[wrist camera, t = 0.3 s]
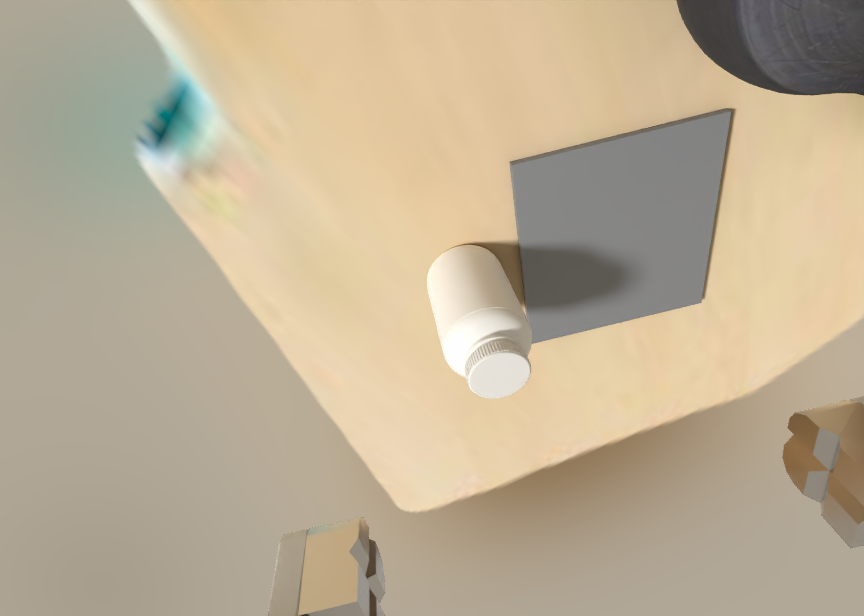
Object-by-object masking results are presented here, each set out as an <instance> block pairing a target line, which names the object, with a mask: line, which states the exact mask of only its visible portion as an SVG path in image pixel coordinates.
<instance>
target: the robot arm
mask: <svg viewBox="0 0 864 616" xmlns="http://www.w3.org/2000/svg"><path fill="white" fill-rule="evenodd" d="M788 429H789V430H790V431H791V432H792V433H793V434H794V435H793V436H792V437H791V438H790V439H789V440H788V441H787V442H786V443H785V444H784V450H783V457H782V458H783V461H784V464H785V468H786V471H787V473H788V475H789V477H790V478H791V480H792V482H793V483H794V484H795V486H796V487H797V488H798V489H799V490H800V491H801V493H802V494H803V495H805V496H807V497H809V498H811V499H814V500H816V501H818V502H820V503H821V516H823V518H824V519H825V520H826V521H827V522H828V523H829V525H830V526H831V527H832V528H833V529H834V530H835V531H836V533H837V534H838V535H839V536H840V537H841V538H842V539H843V540H844V541H845V543H846V544H847V545H848V546H849V547H850V548H854V547H859V546H864V396H863V397H859V398H855V399H851V400H844V401H839V402H836V403H832V404H828V405H824V406H820V407H816V408H812V409H808V410H804V411H800V412H796V413H794V414H793V416H791V417H790V419H789V423H788ZM384 594H385V579H384V571H383V564H382V559H381V556H380V552H379V549H378V547H377V545H376V543H375V541H373V540H370V539H369V527H368V525H367V523H366V521H365V520H364V517H361V518H357V519H352V520H348V521H342V522H337V523H333V524H328V525H323V526H318V527H314V528H309V529H304V530H300V531H296V532H291V533H287V534H284V535H283V537H282V539H281V541H280V543H279V549H278V555H277V561H276V567H275V574H274V580H273V586H272V592H271V599H270V604H269V611H268V616H385V614H384V612H383V610H382V608H381V606H380V604H379V603H380V601H381V599H382V598H383V596H384Z"/></svg>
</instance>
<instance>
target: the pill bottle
mask: <svg viewBox="0 0 864 616" xmlns="http://www.w3.org/2000/svg"><path fill="white" fill-rule="evenodd" d="M427 289H428V293H429V297H430V301H431V305H432V309H433V314H434V318H435V322H436V326H437V330H438V334H439V338H440V342H441V346H442V350H443V354H444V357H445V359H446V361H447V363H448V364H449V365H450V367H451V368H452V369H453V370H454V371H455V372H456V373H458V374H459V375H461V376H463V377H465V378H466V379H467V382H468V385H469V387H470V389H471V390H472V391H473V392H474V393H475V394H477V395H479V396H481V397H484V398H502V397H506V396H508V395H511V394H513V393H515V392H516V391H518V390H519V389H521V388H522V387H523V386H524V385H525V383H526V382H527V380H528V379H529V376H530V373H531V365H530V362H529V359H528V357H527V356H528V354H529V351H530V349H531V344H532V331H531V327H530V324H529V322H528V320H527V318H526V316H525V314H524V312H523V309H522V307H521V305H520V303H519V301H518V299H517V297H516V295H515V293H514V291H513V289H512V286H511V284H510V282H509V280H508V278H507V276H506V274H505V272H504V270H503V268H502V265H501V264H500V262H499V260H498V259H497V258H496V256H495V255H494V254H493V253H491V252H490V251H489V250H487V249H485V248H483V247H480V246H476V245H461V246H457V247H454V248H451V249H449V250H447V251H445V252H444V253H442V254H441V255H440V256H439V257H438V258H437V259H436V260H435V261H434V263H433V264H432V266H431V267H430V270H429V272H428V277H427Z"/></svg>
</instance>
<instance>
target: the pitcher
mask: <svg viewBox="0 0 864 616" xmlns="http://www.w3.org/2000/svg"><path fill="white" fill-rule="evenodd" d="M677 4H678V8H679V12H680V14H681V16H682V19H683V21H684V24H685V25H686V27H687V29H688V30H689V32H690V34H691V36H692V37H693V39H694V41H695V42H696V43H697V44H698V46H699V47H700V48H701V49H702V51H703V52H704V53H705V54H706V55H707V56H708V57H709V58H710V59H712V60H713V61H714V62H715V63H716V64H717V65H719V66H720V67H722V68H723V69H724V70H726V71H727V72H729V73H730V74H732V75H734V76H736V77H737V78H739V79H741V80H743V81H745V82H747V83H749V84H752V85H755V86H758V87H761V88H764V89H768V90H772V91H775V92H779V93H785V94H793V95H821V94H831V93H856V94H860V95H864V0H677Z"/></svg>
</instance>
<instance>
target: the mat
mask: <svg viewBox="0 0 864 616" xmlns="http://www.w3.org/2000/svg"><path fill="white" fill-rule="evenodd" d="M730 117H731V111H730V110H728V109H722V110H718V111H714V112H710V113H706V114H702V115H698V116H694V117H690V118H686V119H682V120H678V121H674V122H670V123H666V124H661V125H657V126H653V127H649V128H645V129H641V130H637V131H633V132H629V133H625V134H621V135H617V136H613V137H609V138H605V139H601V140H597V141H593V142H589V143H585V144H581V145H576V146H572V147H568V148H564V149H560V150H556V151H552V152H548V153H544V154H540V155H536V156H532V157H528V158H524V159H520V160H516V161H512V162H510V170H511V179H512V188H513V197H514V206H515V215H516V224H517V233H518V242H519V251H520V260H521V269H522V279H523V288H524V297H525V306H526V315H527V320H528V322H529V324H530V327H531V331H532V344H533V343H537V342H542V341H546V340H550V339H554V338H558V337H562V336H566V335H570V334H574V333H579V332H583V331H587V330H591V329H595V328H599V327H603V326H607V325H612V324H616V323H620V322H624V321H628V320H632V319H636V318H640V317H645V316H649V315H653V314H657V313H661V312H665V311H669V310H673V309H677V308H682V307H686V306H690V305H694V304H698V303H701V301H702V295H703V288H704V282H705V276H706V269H707V263H708V257H709V250H710V244H711V238H712V231H713V225H714V219H715V212H716V206H717V199H718V193H719V187H720V180H721V174H722V168H723V161H724V155H725V149H726V142H727V136H728V130H729V123H730Z"/></svg>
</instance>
